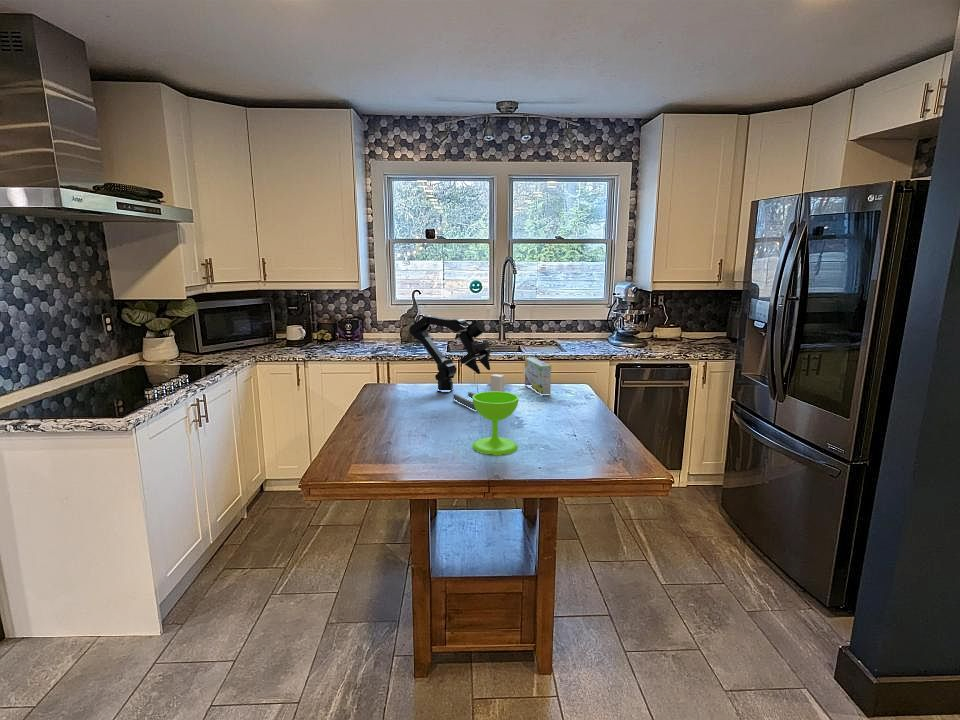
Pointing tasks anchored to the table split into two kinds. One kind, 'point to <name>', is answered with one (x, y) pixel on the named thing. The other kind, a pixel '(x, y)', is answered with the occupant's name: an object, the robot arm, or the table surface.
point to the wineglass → (495, 420)
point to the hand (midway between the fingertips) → (484, 371)
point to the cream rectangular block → (497, 383)
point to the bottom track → (465, 400)
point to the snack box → (538, 375)
